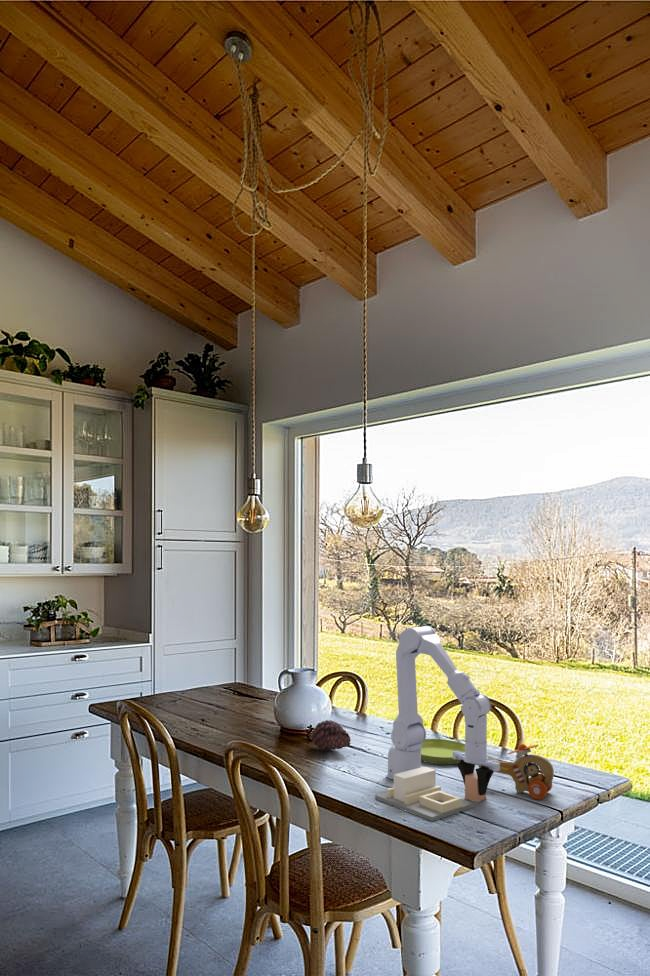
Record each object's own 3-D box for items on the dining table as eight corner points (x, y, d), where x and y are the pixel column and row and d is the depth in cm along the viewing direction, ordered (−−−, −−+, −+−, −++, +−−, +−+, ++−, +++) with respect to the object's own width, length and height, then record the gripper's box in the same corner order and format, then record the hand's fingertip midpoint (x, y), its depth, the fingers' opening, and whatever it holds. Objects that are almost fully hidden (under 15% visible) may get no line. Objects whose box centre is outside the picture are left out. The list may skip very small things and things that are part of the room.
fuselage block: (393, 797, 198) (393, 774, 198) (424, 788, 206) (424, 766, 206) (404, 802, 195) (404, 778, 195) (435, 792, 203) (435, 770, 203)
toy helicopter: (549, 802, 200) (549, 749, 201) (474, 788, 210) (474, 738, 211) (556, 793, 207) (556, 742, 208) (483, 780, 217) (483, 732, 218)
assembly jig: (375, 798, 200) (375, 787, 200) (416, 786, 210) (416, 776, 210) (431, 821, 185) (432, 808, 185) (473, 807, 195) (473, 795, 195)
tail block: (464, 797, 202) (465, 775, 202) (474, 794, 205) (474, 772, 205) (476, 802, 199) (476, 778, 199) (486, 798, 202) (486, 776, 202)
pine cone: (359, 755, 240) (359, 723, 241) (336, 761, 233) (337, 728, 234) (323, 743, 253) (323, 713, 254) (300, 748, 247) (300, 717, 247)
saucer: (397, 761, 236) (397, 750, 236) (419, 745, 254) (419, 735, 254) (462, 771, 227) (462, 760, 227) (479, 754, 245) (479, 744, 245)
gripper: (445, 737, 206) (445, 787, 205) (488, 749, 195) (488, 802, 194) (462, 733, 210) (461, 782, 209) (505, 744, 199) (504, 797, 198)
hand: (475, 792), depth 202 cm, fingers closed on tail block, 4 cm apart
